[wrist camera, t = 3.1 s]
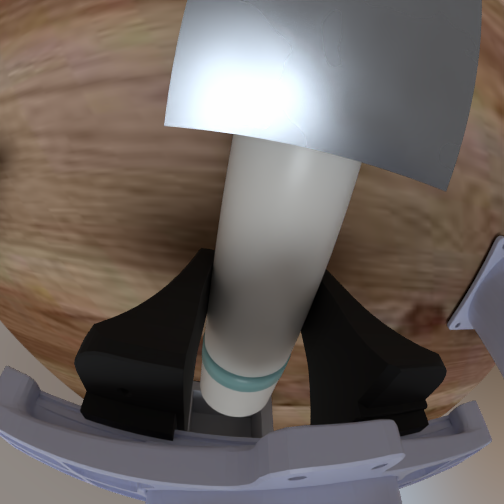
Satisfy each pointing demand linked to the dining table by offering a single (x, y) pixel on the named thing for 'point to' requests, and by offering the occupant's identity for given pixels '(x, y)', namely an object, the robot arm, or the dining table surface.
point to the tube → (268, 264)
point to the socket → (227, 419)
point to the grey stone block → (333, 77)
